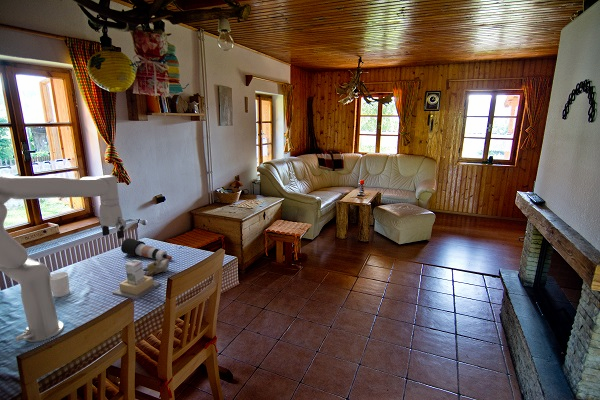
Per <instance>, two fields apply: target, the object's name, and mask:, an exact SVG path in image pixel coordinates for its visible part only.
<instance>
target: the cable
mask: <svg viewBox="0 0 600 400" xmlns="http://www.w3.org/2000/svg"><path fill="white" fill-rule="evenodd" d="M120 249H121V253H123V254H126V255H129V256H133V257H136V258H140V257H144V258H148V259H154V260H155V259H156V260H160V261H164V260H166V259H169V260H172V258H173V256H171V255H168V253H167V251H165V250H162V249H159V248H157V247H153V246H151V245H147V244H146V242H145V241H142V240H138V239H134V238H131V237H127V238H126V239H124V240H123V242H122V243H121V245H120Z"/></svg>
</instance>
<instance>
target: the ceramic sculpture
mask: <svg viewBox="0 0 600 400" xmlns="http://www.w3.org/2000/svg"><path fill="white" fill-rule="evenodd" d="M169 260H170V259H165V260H163V261H162V260H158V259H154V260H153V261H150V262H149V263H148V264H147V266H146V267H144V268H143V272H146V273H144V276H148V277H152V276H153V275H157V274H160V273H162V272H164V273H167V271H168V268H169V265H170V263H169V262H170V261H169Z"/></svg>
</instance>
